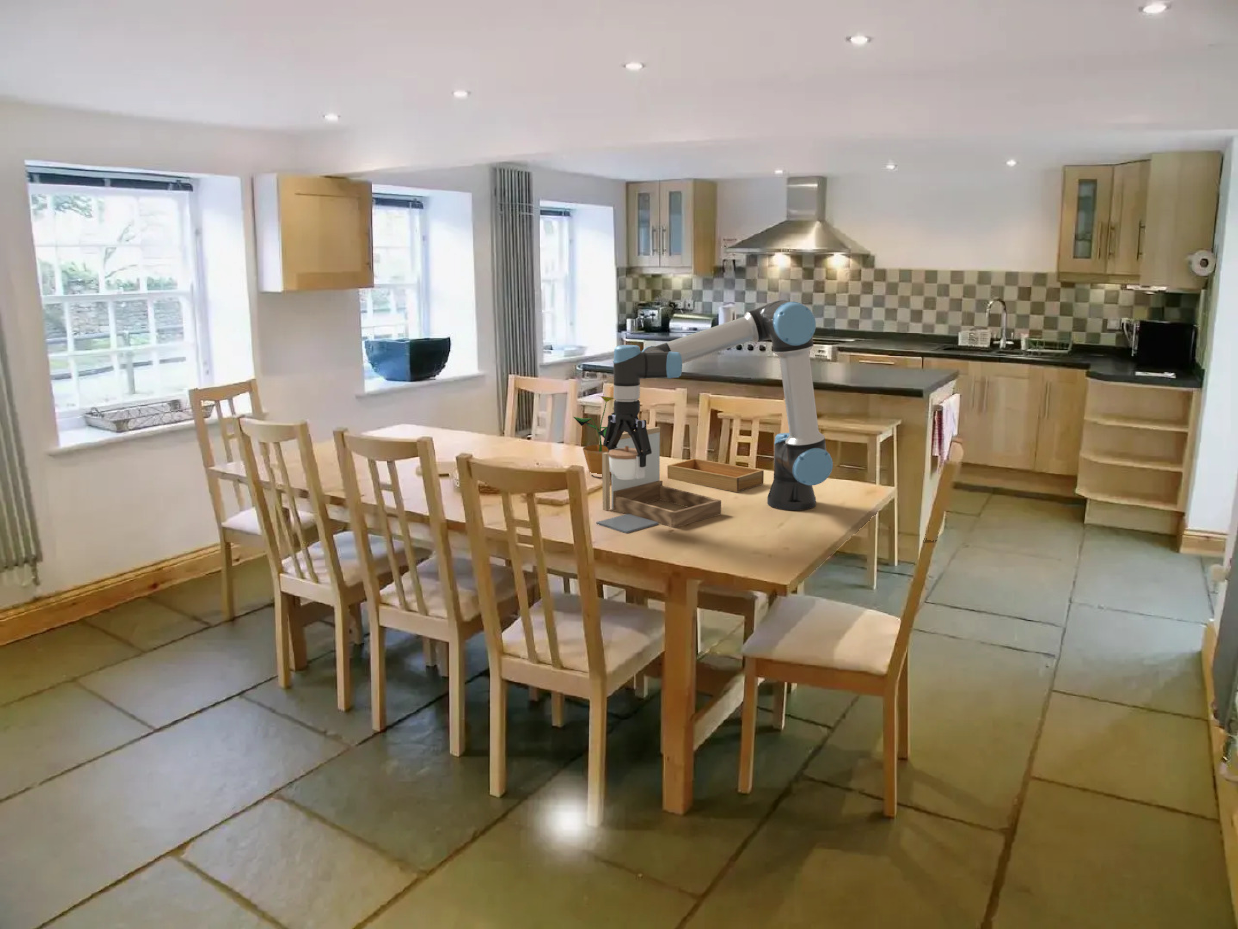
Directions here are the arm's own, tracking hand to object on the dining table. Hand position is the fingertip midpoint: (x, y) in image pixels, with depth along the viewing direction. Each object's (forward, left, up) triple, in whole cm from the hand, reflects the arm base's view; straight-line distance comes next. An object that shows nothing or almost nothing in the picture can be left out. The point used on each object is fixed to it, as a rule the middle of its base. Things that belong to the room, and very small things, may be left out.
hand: (626, 474), depth 271 cm
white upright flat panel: (+16, -17, -15) cm, 27 cm away
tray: (+17, -58, -16) cm, 62 cm away
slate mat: (0, 0, -15) cm, 15 cm away
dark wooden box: (+1, -18, -15) cm, 23 cm away
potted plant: (+52, -36, -15) cm, 65 cm away
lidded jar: (0, 0, -1) cm, 1 cm away
